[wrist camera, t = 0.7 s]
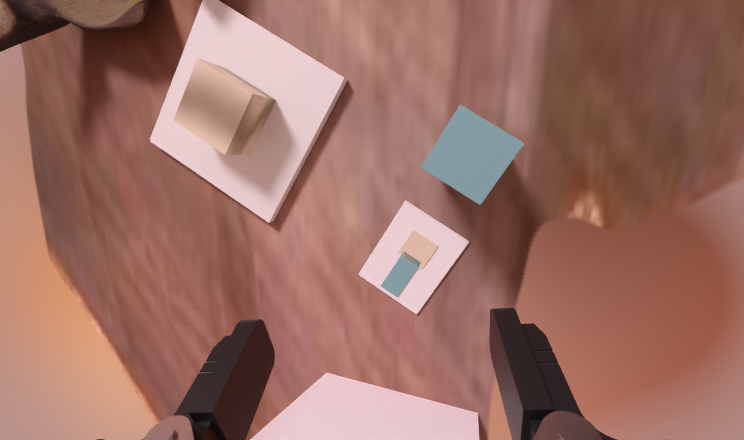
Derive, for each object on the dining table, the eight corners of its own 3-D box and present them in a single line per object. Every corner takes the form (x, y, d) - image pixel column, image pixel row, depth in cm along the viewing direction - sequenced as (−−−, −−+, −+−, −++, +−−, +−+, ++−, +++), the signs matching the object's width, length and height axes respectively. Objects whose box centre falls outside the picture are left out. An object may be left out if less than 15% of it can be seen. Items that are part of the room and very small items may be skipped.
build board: (212, -4, 35) (205, -8, 34) (347, 80, 34) (344, 78, 33) (157, 141, 40) (149, 140, 39) (273, 221, 38) (268, 223, 37)
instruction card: (405, 200, 34) (405, 200, 34) (469, 241, 33) (469, 242, 33) (358, 274, 37) (357, 274, 36) (416, 313, 36) (416, 315, 36)
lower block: (226, 68, 35) (197, 58, 31) (276, 100, 34) (252, 93, 31) (203, 123, 37) (173, 120, 33) (250, 154, 36) (225, 154, 32)
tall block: (461, 118, 32) (460, 104, 22) (505, 145, 31) (524, 143, 22) (432, 162, 33) (420, 167, 23) (475, 189, 33) (480, 205, 23)
